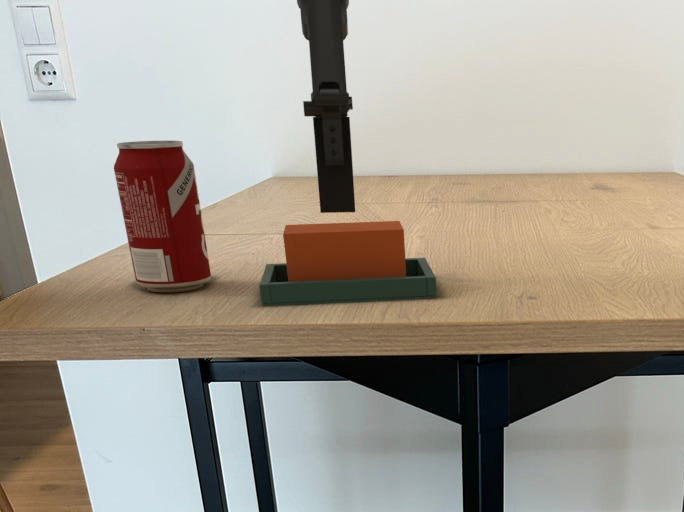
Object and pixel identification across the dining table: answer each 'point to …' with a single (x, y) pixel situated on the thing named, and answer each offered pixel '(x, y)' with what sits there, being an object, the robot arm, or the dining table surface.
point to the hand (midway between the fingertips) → (337, 202)
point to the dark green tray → (347, 287)
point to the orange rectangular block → (344, 251)
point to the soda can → (162, 216)
